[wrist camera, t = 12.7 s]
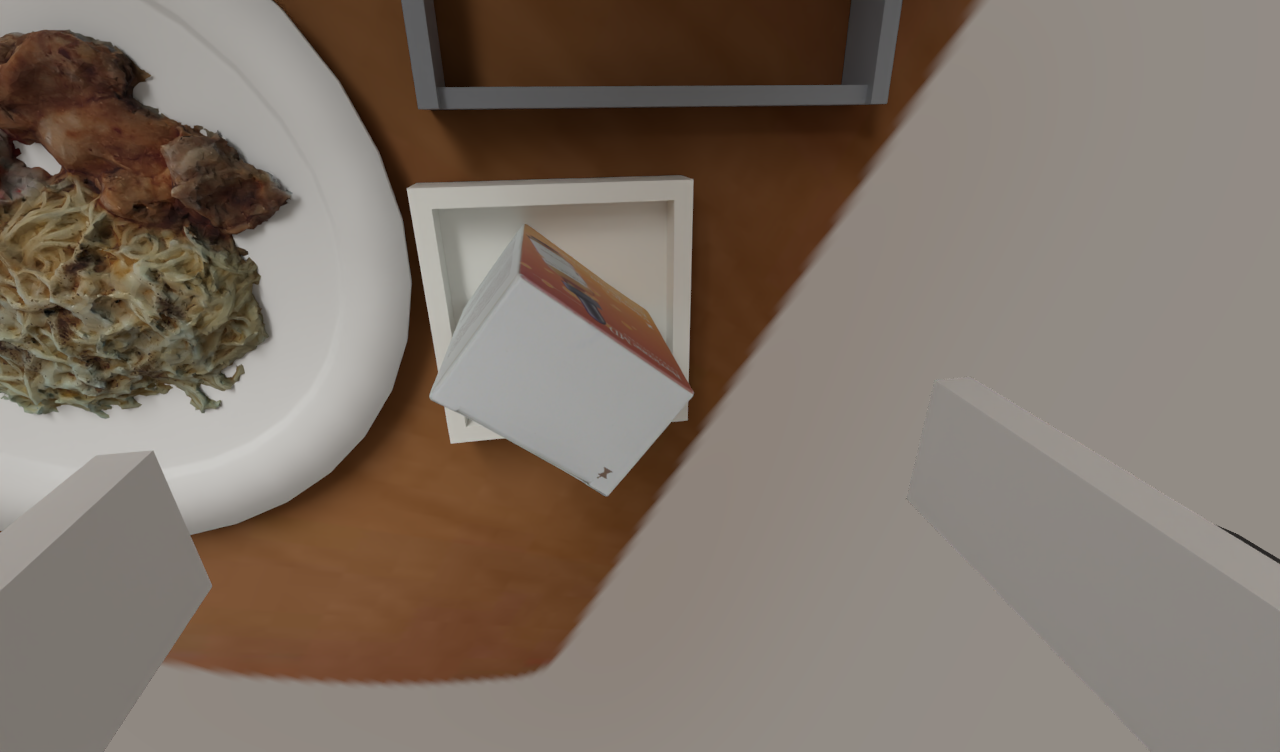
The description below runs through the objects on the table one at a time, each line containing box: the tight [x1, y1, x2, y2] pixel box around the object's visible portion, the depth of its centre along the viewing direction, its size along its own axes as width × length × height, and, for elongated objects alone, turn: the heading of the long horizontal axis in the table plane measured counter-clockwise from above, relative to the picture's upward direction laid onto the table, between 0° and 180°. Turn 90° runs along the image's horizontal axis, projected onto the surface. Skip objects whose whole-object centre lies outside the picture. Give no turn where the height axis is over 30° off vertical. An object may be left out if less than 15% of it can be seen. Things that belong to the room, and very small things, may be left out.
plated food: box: [0, 0, 412, 535], centre depth 24 cm, size 30×30×3 cm
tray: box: [407, 175, 694, 443], centre depth 29 cm, size 13×13×2 cm
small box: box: [429, 224, 694, 496], centre depth 25 cm, size 8×6×10 cm
